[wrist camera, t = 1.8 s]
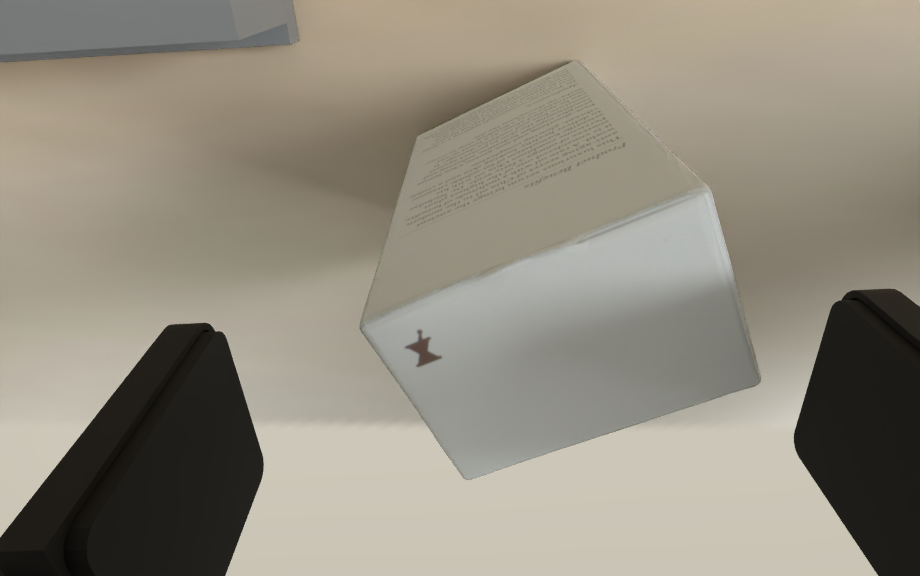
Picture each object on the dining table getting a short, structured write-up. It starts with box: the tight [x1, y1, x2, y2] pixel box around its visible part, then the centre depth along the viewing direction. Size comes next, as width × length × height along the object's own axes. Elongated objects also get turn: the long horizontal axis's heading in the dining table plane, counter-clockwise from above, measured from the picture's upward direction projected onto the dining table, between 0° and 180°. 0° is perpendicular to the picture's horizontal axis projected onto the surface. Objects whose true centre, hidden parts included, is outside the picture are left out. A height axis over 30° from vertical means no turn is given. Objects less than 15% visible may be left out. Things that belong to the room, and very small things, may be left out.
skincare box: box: [360, 60, 761, 480], centre depth 15 cm, size 6×4×12 cm
